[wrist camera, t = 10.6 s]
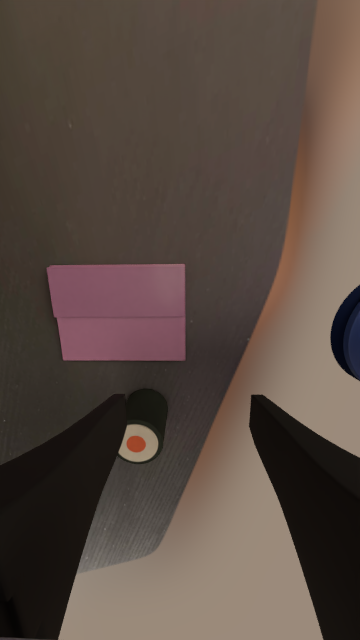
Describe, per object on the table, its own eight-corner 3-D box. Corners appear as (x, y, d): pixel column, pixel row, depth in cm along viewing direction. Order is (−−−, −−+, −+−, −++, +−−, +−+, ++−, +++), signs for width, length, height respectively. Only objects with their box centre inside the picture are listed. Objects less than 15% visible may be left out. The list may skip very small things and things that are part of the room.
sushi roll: (167, 388, 20) (161, 421, 15) (168, 425, 21) (163, 466, 16) (124, 388, 20) (107, 421, 16) (127, 425, 21) (111, 466, 17)
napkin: (185, 264, 17) (185, 263, 16) (185, 358, 19) (185, 362, 18) (52, 265, 18) (45, 265, 17) (66, 358, 20) (60, 362, 19)
